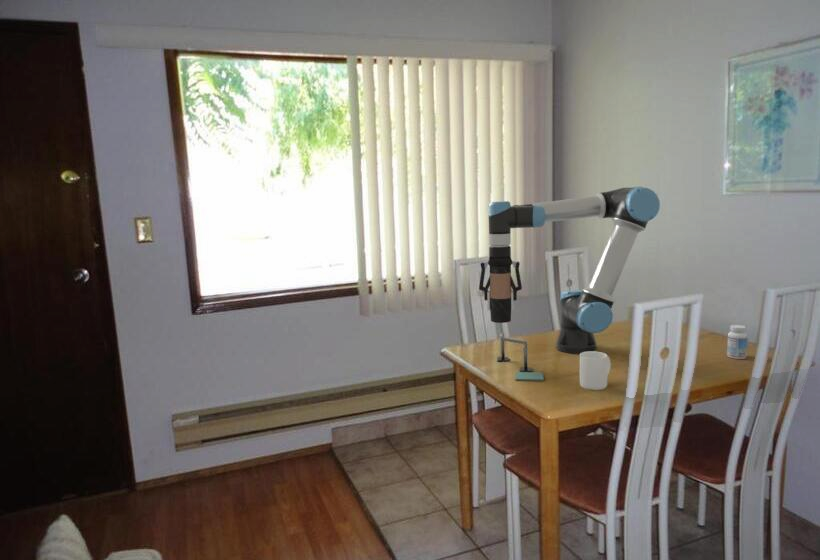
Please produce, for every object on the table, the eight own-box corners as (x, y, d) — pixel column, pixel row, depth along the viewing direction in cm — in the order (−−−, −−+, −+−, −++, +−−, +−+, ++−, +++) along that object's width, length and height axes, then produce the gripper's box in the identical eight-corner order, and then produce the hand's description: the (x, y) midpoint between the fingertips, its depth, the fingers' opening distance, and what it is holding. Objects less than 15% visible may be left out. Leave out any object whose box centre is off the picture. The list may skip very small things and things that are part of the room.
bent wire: (530, 358, 207) (529, 331, 205) (531, 372, 191) (531, 343, 190) (497, 358, 209) (497, 331, 207) (496, 372, 194) (495, 343, 192)
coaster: (542, 374, 189) (542, 372, 189) (543, 380, 182) (543, 379, 182) (515, 373, 191) (515, 372, 191) (515, 380, 184) (515, 378, 184)
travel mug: (511, 323, 195) (510, 266, 192) (489, 322, 197) (488, 266, 194) (512, 318, 202) (511, 263, 199) (491, 318, 204) (490, 264, 201)
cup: (574, 385, 177) (574, 354, 176) (599, 377, 184) (599, 347, 182) (595, 392, 170) (595, 360, 169) (620, 383, 177) (620, 353, 175)
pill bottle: (745, 355, 199) (747, 324, 197) (747, 360, 194) (749, 328, 192) (726, 354, 202) (727, 323, 200) (727, 358, 196) (729, 327, 194)
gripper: (529, 244, 197) (529, 307, 200) (471, 245, 201) (472, 307, 205) (529, 246, 190) (529, 311, 193) (469, 247, 194) (470, 311, 197)
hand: (500, 309), depth 199 cm, fingers closed on travel mug, 8 cm apart
